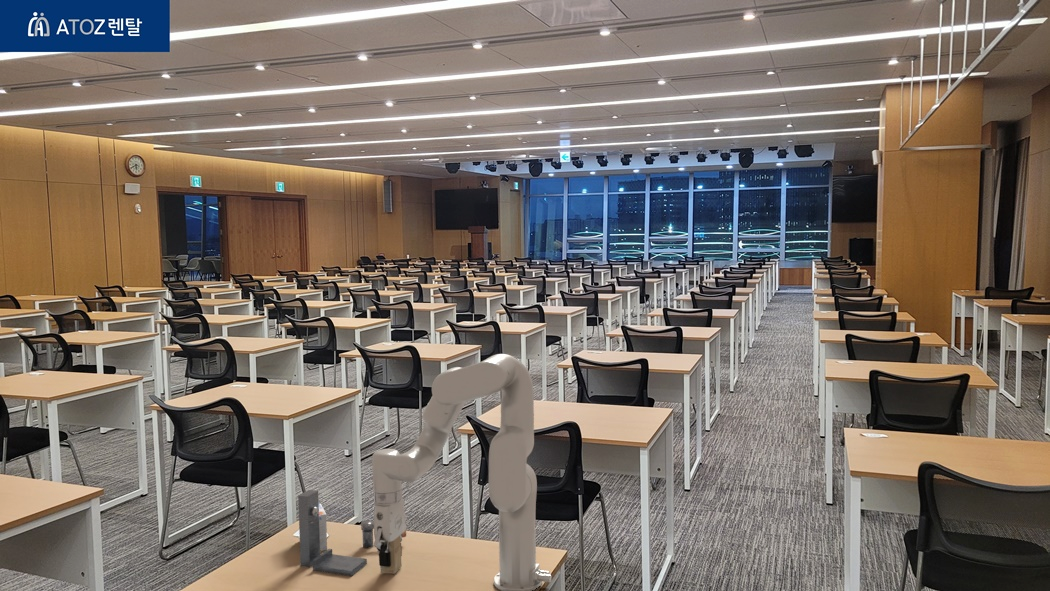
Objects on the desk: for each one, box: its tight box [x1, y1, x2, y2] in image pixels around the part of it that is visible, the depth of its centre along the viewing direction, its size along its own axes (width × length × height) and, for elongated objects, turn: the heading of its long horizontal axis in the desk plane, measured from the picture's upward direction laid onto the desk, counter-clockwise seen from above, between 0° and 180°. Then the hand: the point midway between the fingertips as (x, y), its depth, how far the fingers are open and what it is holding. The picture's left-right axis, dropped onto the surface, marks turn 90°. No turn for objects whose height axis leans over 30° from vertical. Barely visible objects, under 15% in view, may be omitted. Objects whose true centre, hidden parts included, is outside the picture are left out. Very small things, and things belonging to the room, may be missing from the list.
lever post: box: [361, 529, 374, 549], centre depth 216 cm, size 3×3×5 cm
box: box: [379, 536, 402, 575], centre depth 199 cm, size 5×4×11 cm
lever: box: [360, 520, 407, 538], centre depth 216 cm, size 13×4×5 cm, turn 97°
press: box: [297, 489, 368, 577], centre depth 202 cm, size 17×8×20 cm, turn 72°
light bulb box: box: [319, 503, 328, 552], centre depth 217 cm, size 11×7×11 cm, turn 25°
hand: (390, 560), depth 199 cm, fingers closed on box, 5 cm apart
